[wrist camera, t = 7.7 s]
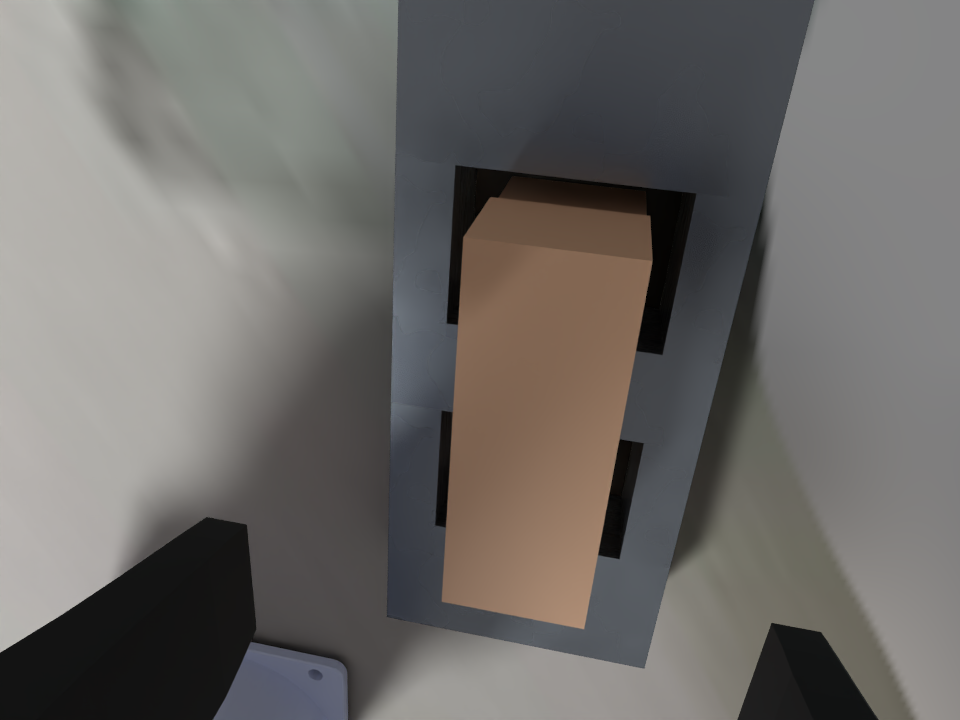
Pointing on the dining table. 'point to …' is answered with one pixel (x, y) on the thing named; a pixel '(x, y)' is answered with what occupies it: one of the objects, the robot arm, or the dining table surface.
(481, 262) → the tan block
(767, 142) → the grey slotted tray
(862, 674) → the dining table surface
